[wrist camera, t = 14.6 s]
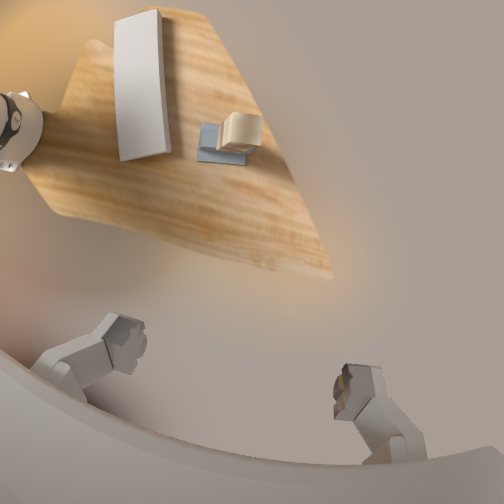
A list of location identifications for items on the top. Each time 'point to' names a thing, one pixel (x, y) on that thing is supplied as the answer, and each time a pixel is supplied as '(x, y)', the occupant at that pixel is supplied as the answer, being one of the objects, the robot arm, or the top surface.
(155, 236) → the top surface
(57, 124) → the top surface
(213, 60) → the top surface
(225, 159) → the ridge block
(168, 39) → the top surface
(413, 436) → the robot arm
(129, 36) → the decorative molding
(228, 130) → the ash post
